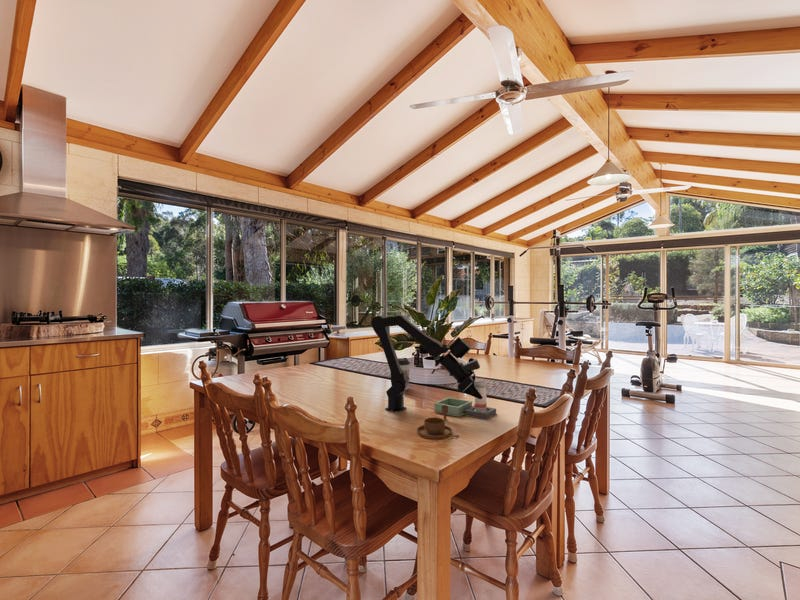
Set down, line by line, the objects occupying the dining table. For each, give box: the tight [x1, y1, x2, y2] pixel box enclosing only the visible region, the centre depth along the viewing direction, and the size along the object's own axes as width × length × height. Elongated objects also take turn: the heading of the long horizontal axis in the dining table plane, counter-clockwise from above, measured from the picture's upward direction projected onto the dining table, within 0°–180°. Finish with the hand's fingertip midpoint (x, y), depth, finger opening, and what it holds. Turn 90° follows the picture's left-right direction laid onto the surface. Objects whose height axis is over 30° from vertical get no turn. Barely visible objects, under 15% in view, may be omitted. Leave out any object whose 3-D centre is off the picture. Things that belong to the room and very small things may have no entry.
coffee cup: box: [397, 357, 411, 391], centre depth 200 cm, size 9×9×15 cm
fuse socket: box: [464, 404, 497, 420], centre depth 157 cm, size 9×9×2 cm
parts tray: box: [433, 397, 473, 418], centre depth 162 cm, size 11×11×4 cm
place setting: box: [416, 405, 460, 441], centre depth 139 cm, size 18×20×6 cm
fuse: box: [474, 379, 488, 412], centre depth 156 cm, size 5×5×13 cm
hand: (481, 395), depth 156 cm, fingers open, 9 cm apart
